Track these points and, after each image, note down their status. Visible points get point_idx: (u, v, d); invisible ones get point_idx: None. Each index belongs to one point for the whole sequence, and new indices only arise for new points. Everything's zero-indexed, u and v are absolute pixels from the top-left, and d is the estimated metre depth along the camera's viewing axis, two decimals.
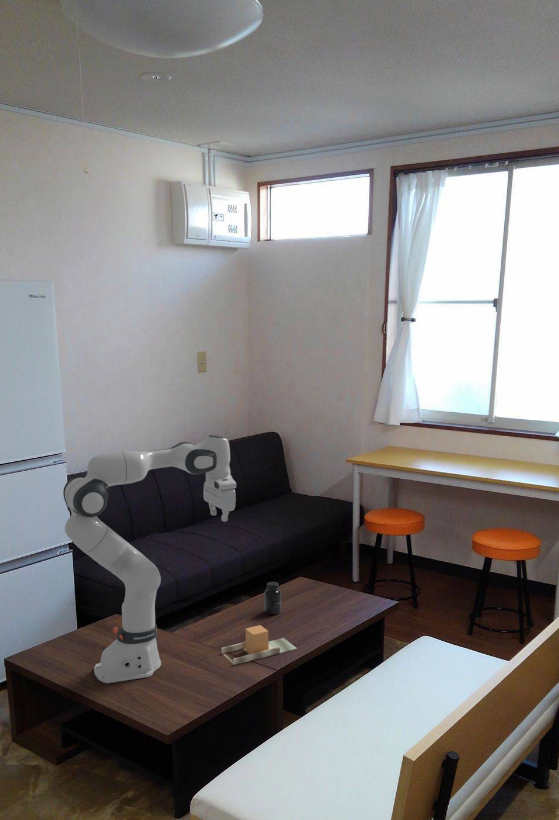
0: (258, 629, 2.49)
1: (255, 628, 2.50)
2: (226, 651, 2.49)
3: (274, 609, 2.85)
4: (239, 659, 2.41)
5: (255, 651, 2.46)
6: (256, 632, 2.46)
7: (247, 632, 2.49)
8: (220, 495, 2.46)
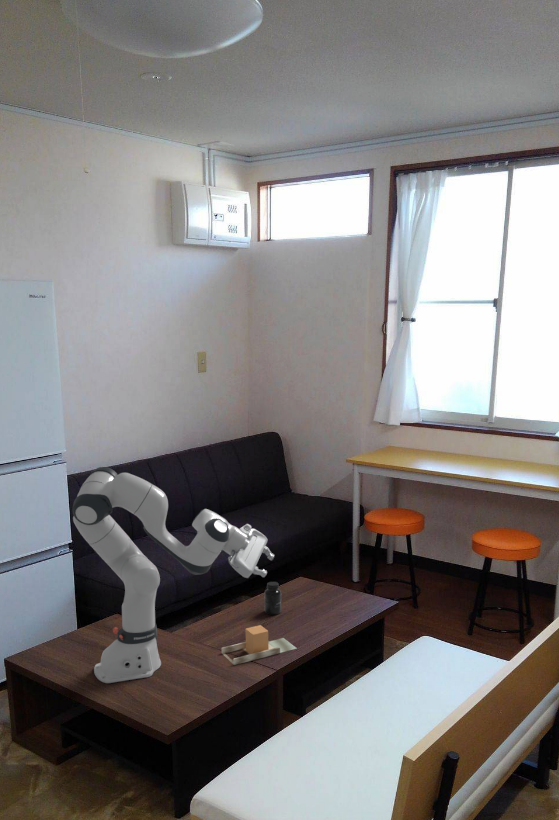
0: (258, 629, 2.49)
1: (255, 628, 2.50)
2: (226, 651, 2.49)
3: (274, 609, 2.85)
4: (239, 659, 2.41)
5: (255, 651, 2.46)
6: (256, 632, 2.46)
7: (247, 632, 2.49)
8: (253, 539, 2.42)
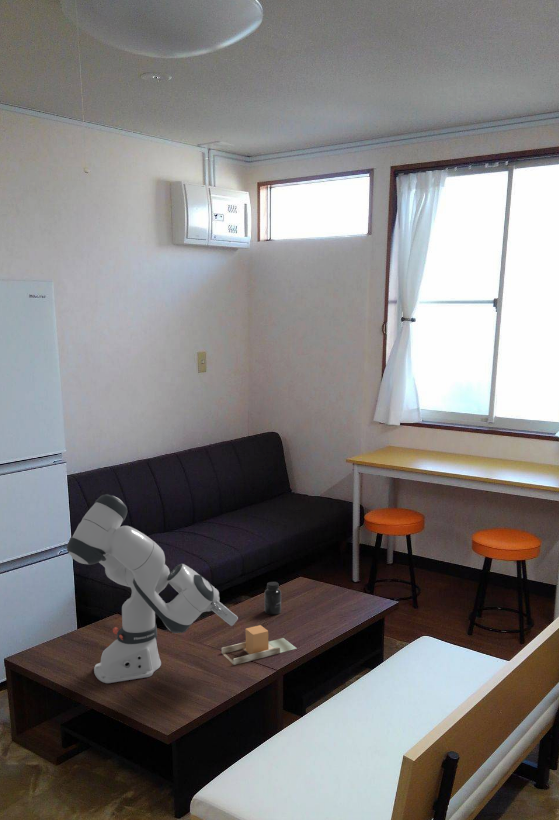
0: (258, 629, 2.49)
1: (255, 628, 2.50)
2: (226, 651, 2.49)
3: (274, 609, 2.85)
4: (239, 659, 2.41)
5: (255, 651, 2.46)
6: (256, 632, 2.46)
7: (247, 632, 2.49)
8: None
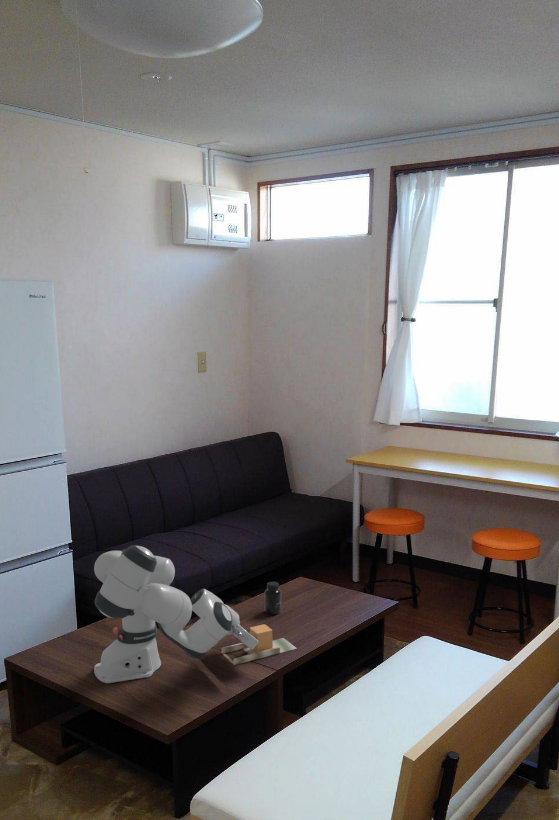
0: (262, 628, 2.50)
1: (260, 627, 2.51)
2: (226, 651, 2.49)
3: (274, 609, 2.85)
4: (239, 659, 2.41)
5: (259, 650, 2.47)
6: (260, 631, 2.47)
7: (251, 631, 2.50)
8: None
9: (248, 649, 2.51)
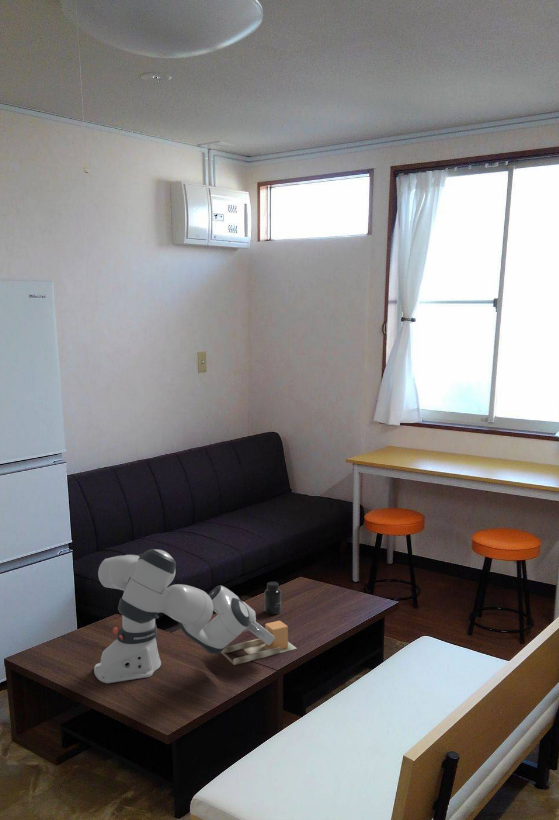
0: (278, 624, 2.53)
1: (275, 623, 2.54)
2: (226, 651, 2.49)
3: (274, 609, 2.85)
4: (239, 659, 2.41)
5: (275, 646, 2.50)
6: (276, 627, 2.50)
7: (267, 628, 2.53)
8: None
9: (248, 649, 2.51)
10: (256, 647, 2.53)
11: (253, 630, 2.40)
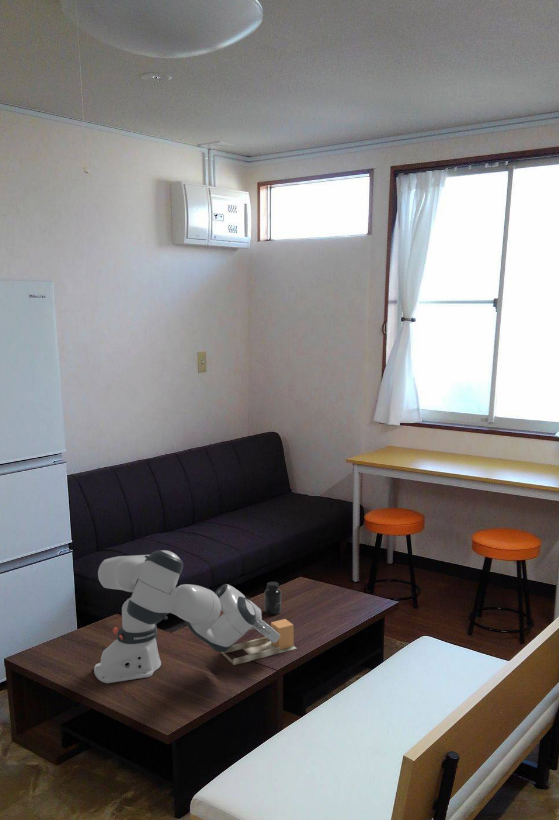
0: (283, 623, 2.54)
1: (281, 622, 2.55)
2: (226, 651, 2.49)
3: (274, 609, 2.85)
4: (239, 659, 2.41)
5: (281, 644, 2.51)
6: (281, 626, 2.52)
7: (273, 626, 2.54)
8: None
9: (248, 649, 2.51)
10: (256, 647, 2.53)
11: (259, 628, 2.41)
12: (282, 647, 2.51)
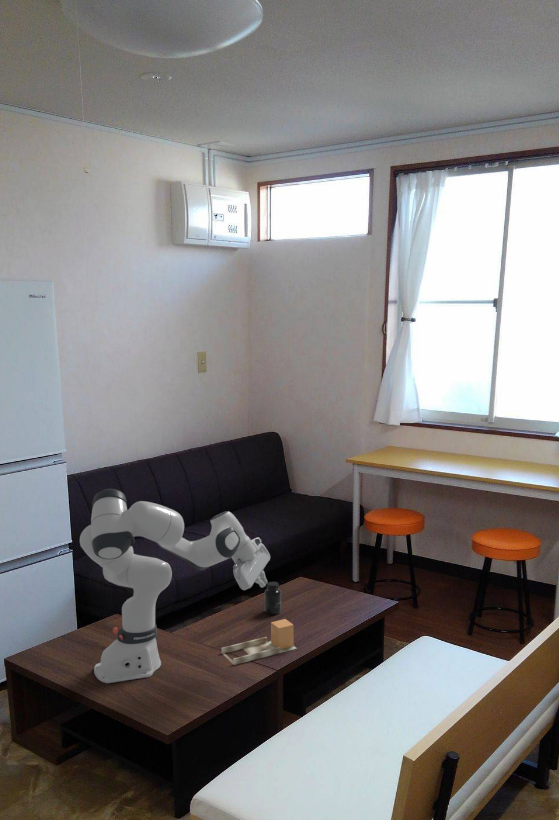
0: (283, 623, 2.54)
1: (281, 621, 2.55)
2: (226, 651, 2.49)
3: (274, 609, 2.85)
4: (239, 659, 2.41)
5: (281, 644, 2.51)
6: (281, 626, 2.52)
7: (273, 626, 2.54)
8: (259, 553, 2.48)
9: (248, 649, 2.51)
10: (256, 647, 2.53)
11: None
12: (282, 647, 2.51)
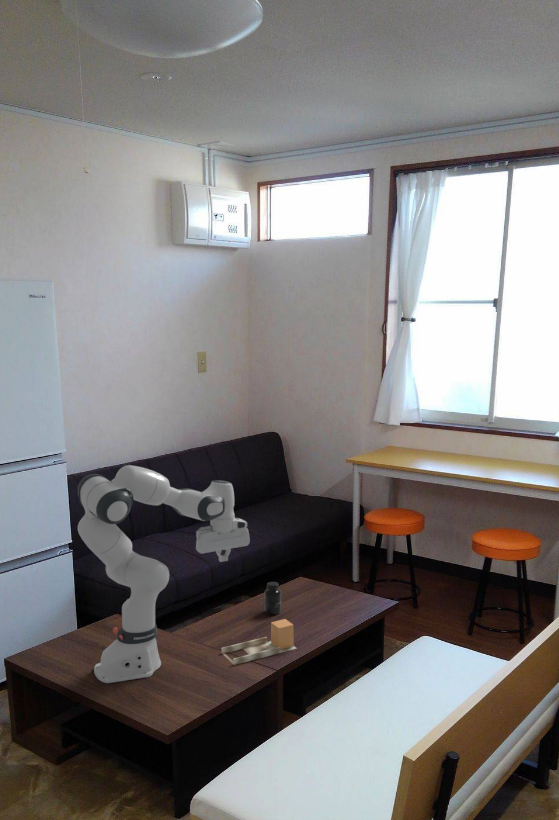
0: (283, 623, 2.54)
1: (281, 621, 2.55)
2: (226, 651, 2.49)
3: (274, 609, 2.85)
4: (239, 659, 2.41)
5: (281, 644, 2.51)
6: (281, 626, 2.52)
7: (273, 626, 2.54)
8: (237, 534, 2.57)
9: (248, 649, 2.51)
10: (256, 647, 2.53)
11: None
12: (282, 647, 2.51)
